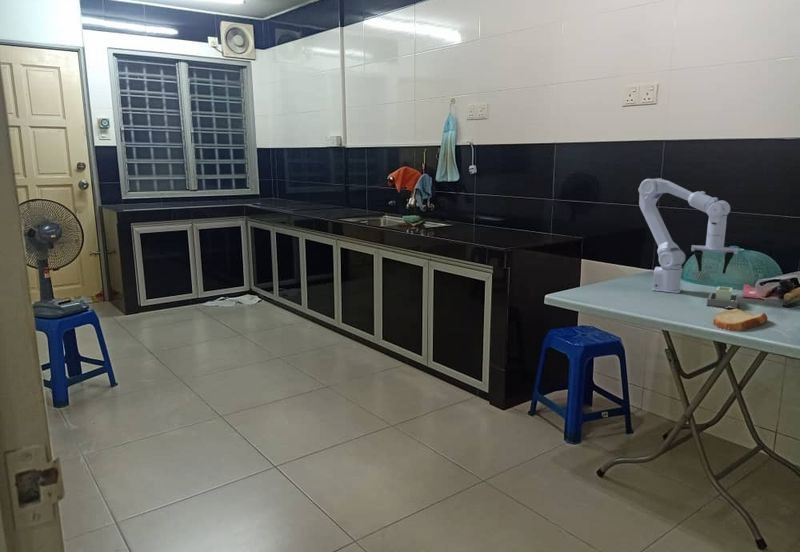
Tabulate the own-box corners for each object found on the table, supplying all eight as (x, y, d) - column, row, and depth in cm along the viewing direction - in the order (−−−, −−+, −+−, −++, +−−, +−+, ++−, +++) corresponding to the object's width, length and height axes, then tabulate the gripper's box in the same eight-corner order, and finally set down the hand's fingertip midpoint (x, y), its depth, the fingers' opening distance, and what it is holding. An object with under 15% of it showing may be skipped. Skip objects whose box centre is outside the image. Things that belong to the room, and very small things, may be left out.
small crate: (714, 304, 192) (716, 290, 191) (716, 300, 198) (718, 286, 197) (729, 305, 190) (731, 291, 189) (730, 301, 196) (732, 287, 195)
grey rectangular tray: (706, 305, 192) (707, 298, 192) (710, 299, 201) (710, 292, 201) (736, 309, 187) (737, 302, 187) (738, 302, 197) (739, 295, 196)
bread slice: (722, 332, 164) (723, 319, 163) (698, 315, 181) (699, 304, 181) (788, 334, 162) (790, 321, 161) (757, 317, 179) (759, 306, 178)
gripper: (691, 234, 200) (688, 271, 203) (738, 237, 193) (734, 275, 195) (694, 232, 206) (690, 268, 209) (739, 235, 198) (735, 272, 201)
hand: (711, 272), depth 203 cm, fingers open, 7 cm apart
